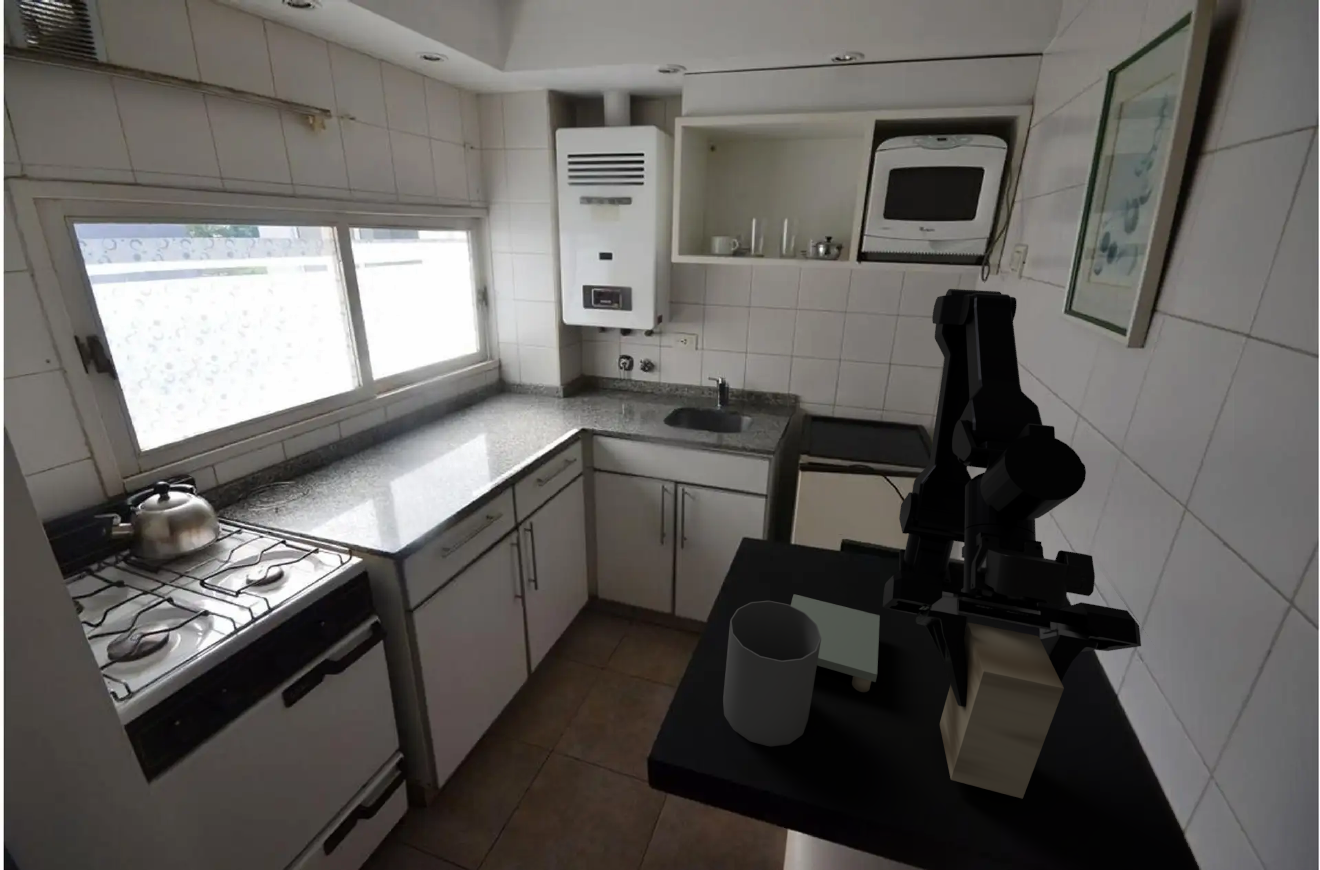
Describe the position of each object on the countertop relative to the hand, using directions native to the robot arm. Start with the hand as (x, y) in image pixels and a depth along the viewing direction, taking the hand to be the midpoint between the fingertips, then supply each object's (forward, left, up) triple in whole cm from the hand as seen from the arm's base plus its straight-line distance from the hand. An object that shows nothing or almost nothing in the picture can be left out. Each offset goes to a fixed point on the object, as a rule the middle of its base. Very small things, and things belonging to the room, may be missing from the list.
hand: (1000, 715), depth 46 cm
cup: (0, -19, -8) cm, 21 cm away
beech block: (-1, 0, -7) cm, 7 cm away
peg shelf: (-11, -14, -8) cm, 20 cm away
